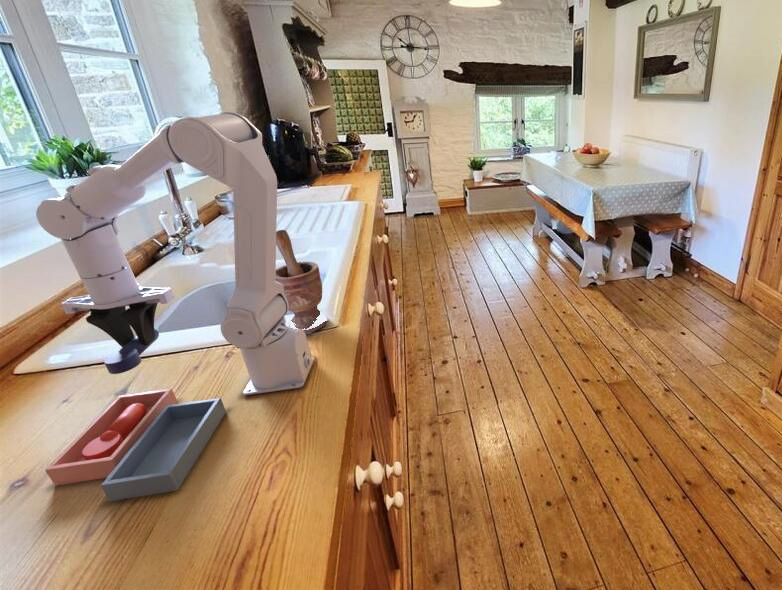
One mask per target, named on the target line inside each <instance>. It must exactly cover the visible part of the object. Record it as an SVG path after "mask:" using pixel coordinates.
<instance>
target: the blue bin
mask: <svg viewBox="0 0 782 590" xmlns="http://www.w3.org/2000/svg"><path fill="white" fill-rule="evenodd" d="M226 413H227V411H226V408H225V405H224V403H223V400H222V398H221V397H216V398H207V399H202V400H193V401H187V402H178V403H177V404H172V405H166V406H165V407H164V409H163V410H162V411H161V412H160V414H159V415H158V416H157V417H156V419H155V420H154V421H153V422H152V423H151V425H150V426H149V427H148V428H147V430H146V431H145V432H144V433H143V434H142V436H141V437H140V438H139V439H138V441H137V442H136V443H135V444H134V445H133V447H132V448H131V449H130V450H129V451H128V453H127V454H126V455H125V456H124V458H123V459H122V460H121V461H120V462H119V464H118V465H117V466H116V467H115V469H114V470H113V471H112V472H111V473H110V475H109V476H108V477H107V478H105V479H104V481H103V482H102V483H101V484H100V487H101V489H102V491H103V492H104V493H105V495H106V497H107V499H108V500H109V502H114V501H115V502H116V501H121V500H127V499H134V498H140V497H146V496H151V495H157V494H163V493H164V494H165V493H170V492H176V491H178V490H179V489H180V488H181V486H182V484H183V482H184V481H185V479H186V477H187V476H188V474H189V473H190V471H191V469H192V468H193V466H194V465H195V463H196V461H197V460H198V458H199V456H200V455H201V453H202V452H203V450H204V449H205V447H206V445H207V444H208V442H209V440H210V439H211V438H212V436H213V434H214V432H215V431H216V429H217V427H218V426H219V424H220V423H221V421H222V419H223V418H224V416H225V415H226Z"/></svg>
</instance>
